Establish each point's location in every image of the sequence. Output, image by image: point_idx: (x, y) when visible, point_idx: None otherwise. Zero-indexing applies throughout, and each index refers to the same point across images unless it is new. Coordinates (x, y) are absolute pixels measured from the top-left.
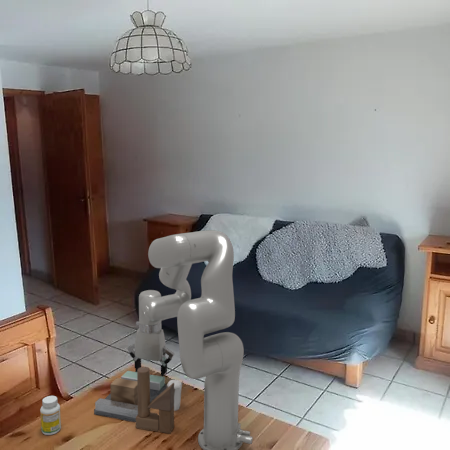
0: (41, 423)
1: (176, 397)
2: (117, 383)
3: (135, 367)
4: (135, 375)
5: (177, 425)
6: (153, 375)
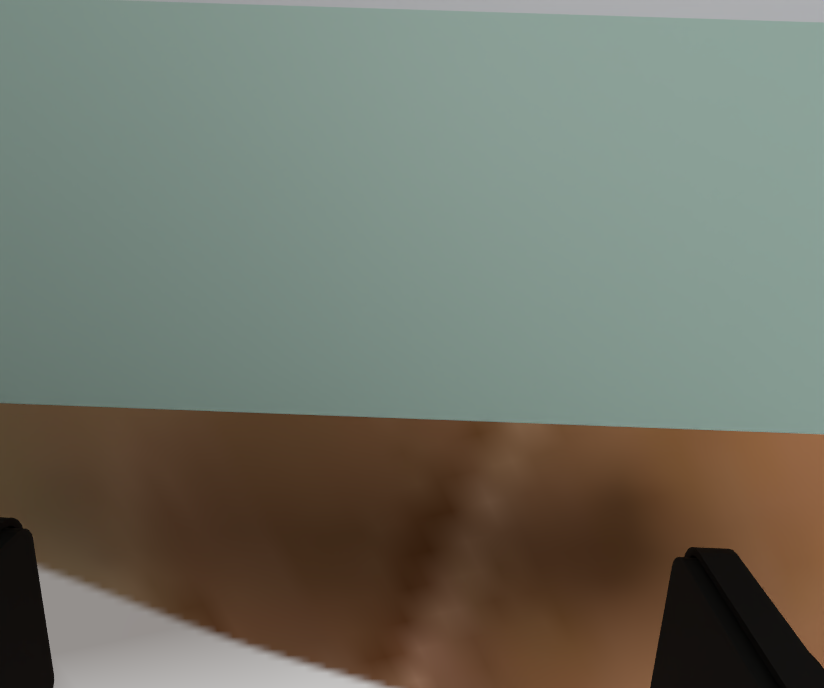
0: None
1: None
2: None
3: (789, 630)
4: (630, 220)
5: None
6: (70, 383)
